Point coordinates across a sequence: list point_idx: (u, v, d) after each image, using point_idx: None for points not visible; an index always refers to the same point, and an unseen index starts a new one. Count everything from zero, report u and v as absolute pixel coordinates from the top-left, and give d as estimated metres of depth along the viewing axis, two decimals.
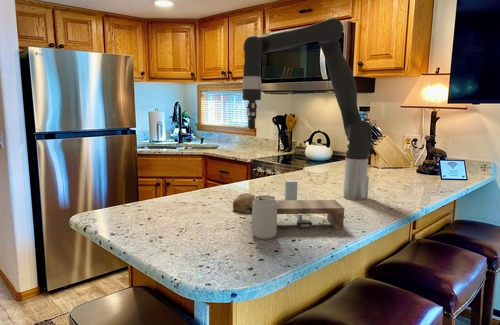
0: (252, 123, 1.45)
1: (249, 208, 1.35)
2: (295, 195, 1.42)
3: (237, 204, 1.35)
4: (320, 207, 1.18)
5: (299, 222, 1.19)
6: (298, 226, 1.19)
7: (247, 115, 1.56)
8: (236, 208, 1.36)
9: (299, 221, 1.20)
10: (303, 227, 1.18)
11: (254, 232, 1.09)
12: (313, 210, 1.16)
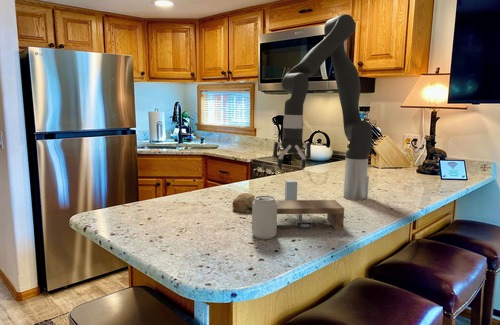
0: None
1: (249, 208, 1.35)
2: (295, 195, 1.42)
3: (237, 204, 1.35)
4: (320, 207, 1.18)
5: (299, 222, 1.19)
6: (298, 226, 1.19)
7: (275, 155, 1.40)
8: (236, 208, 1.36)
9: (299, 221, 1.20)
10: (303, 227, 1.18)
11: (254, 232, 1.09)
12: (313, 210, 1.16)
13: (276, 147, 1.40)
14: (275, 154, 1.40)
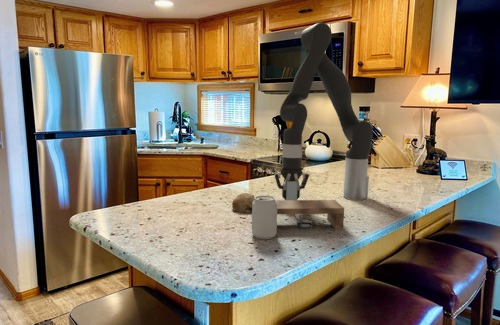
0: None
1: (248, 208, 1.35)
2: (295, 195, 1.42)
3: (236, 204, 1.35)
4: (320, 207, 1.18)
5: (299, 222, 1.19)
6: (298, 226, 1.19)
7: (280, 186, 1.42)
8: (235, 208, 1.36)
9: (299, 221, 1.20)
10: (303, 227, 1.18)
11: (254, 232, 1.09)
12: (313, 210, 1.16)
13: (277, 179, 1.41)
14: (280, 185, 1.42)
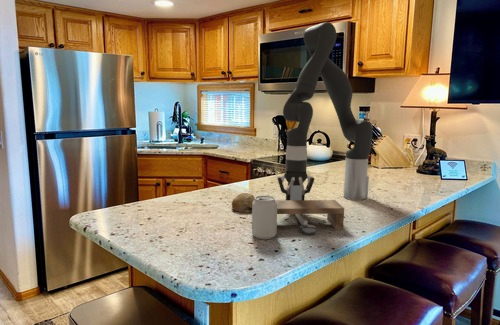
0: None
1: (248, 208, 1.35)
2: None
3: (236, 204, 1.35)
4: (320, 207, 1.18)
5: (303, 227, 1.14)
6: (302, 231, 1.13)
7: (283, 191, 1.33)
8: (235, 208, 1.36)
9: (303, 226, 1.15)
10: (307, 232, 1.12)
11: (254, 232, 1.09)
12: (313, 210, 1.16)
13: (281, 182, 1.32)
14: (283, 189, 1.33)
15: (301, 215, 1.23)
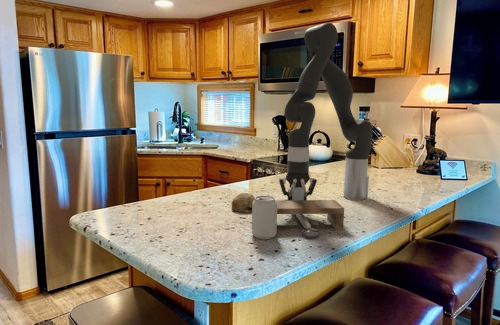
0: None
1: (248, 208, 1.35)
2: None
3: (236, 204, 1.36)
4: (320, 207, 1.18)
5: (305, 231, 1.11)
6: (304, 235, 1.10)
7: (285, 193, 1.30)
8: (235, 208, 1.36)
9: (305, 230, 1.12)
10: (309, 236, 1.09)
11: (254, 232, 1.09)
12: (313, 210, 1.16)
13: (282, 184, 1.30)
14: (285, 191, 1.30)
15: (304, 218, 1.20)
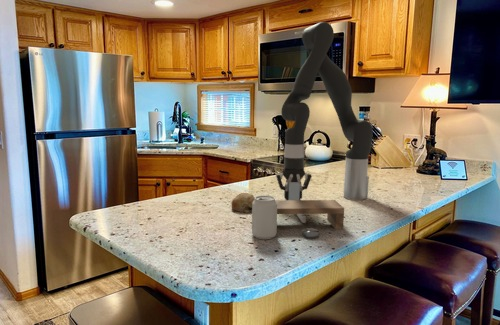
0: None
1: (248, 208, 1.36)
2: (297, 196, 1.39)
3: (236, 204, 1.36)
4: (320, 207, 1.18)
5: (305, 231, 1.11)
6: (304, 235, 1.10)
7: (282, 187, 1.39)
8: (235, 208, 1.36)
9: (305, 230, 1.12)
10: (309, 236, 1.09)
11: (254, 232, 1.09)
12: (313, 210, 1.16)
13: (279, 179, 1.39)
14: (282, 186, 1.39)
15: None
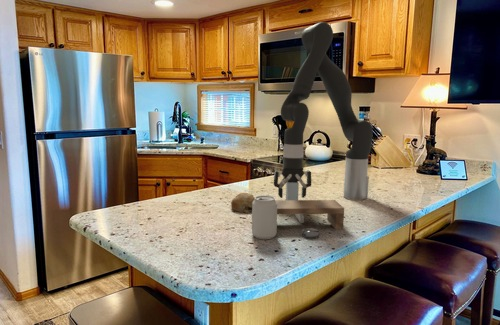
0: None
1: (247, 207, 1.36)
2: (296, 196, 1.40)
3: (235, 203, 1.36)
4: (320, 207, 1.18)
5: (305, 231, 1.11)
6: (304, 235, 1.10)
7: (276, 185, 1.39)
8: (234, 207, 1.36)
9: (305, 230, 1.12)
10: (309, 236, 1.09)
11: (254, 232, 1.09)
12: (313, 210, 1.16)
13: (277, 176, 1.39)
14: (276, 183, 1.39)
15: None
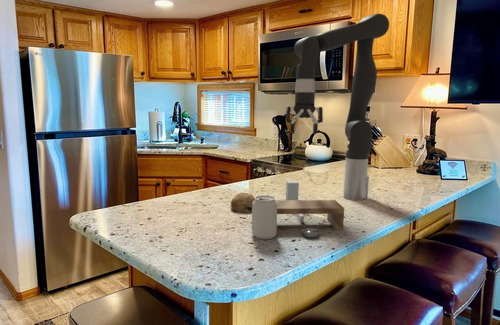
0: None
1: (247, 207, 1.36)
2: (296, 196, 1.40)
3: (235, 203, 1.36)
4: (320, 207, 1.18)
5: (305, 231, 1.11)
6: (304, 235, 1.10)
7: (288, 120, 1.42)
8: (234, 207, 1.37)
9: (305, 230, 1.12)
10: (309, 236, 1.09)
11: (254, 232, 1.09)
12: (313, 210, 1.16)
13: (289, 111, 1.42)
14: (288, 118, 1.42)
15: None
